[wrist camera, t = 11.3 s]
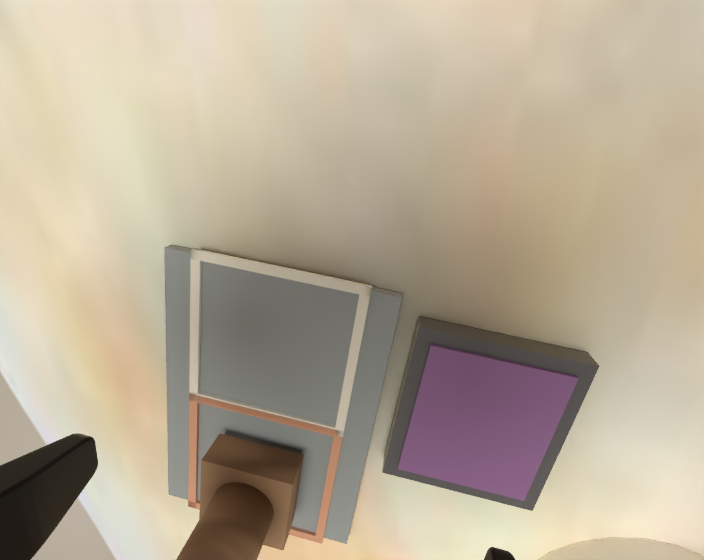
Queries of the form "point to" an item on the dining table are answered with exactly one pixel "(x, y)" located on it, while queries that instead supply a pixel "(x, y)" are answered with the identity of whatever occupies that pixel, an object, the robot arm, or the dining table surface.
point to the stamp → (244, 498)
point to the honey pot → (622, 550)
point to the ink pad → (484, 411)
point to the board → (275, 374)
